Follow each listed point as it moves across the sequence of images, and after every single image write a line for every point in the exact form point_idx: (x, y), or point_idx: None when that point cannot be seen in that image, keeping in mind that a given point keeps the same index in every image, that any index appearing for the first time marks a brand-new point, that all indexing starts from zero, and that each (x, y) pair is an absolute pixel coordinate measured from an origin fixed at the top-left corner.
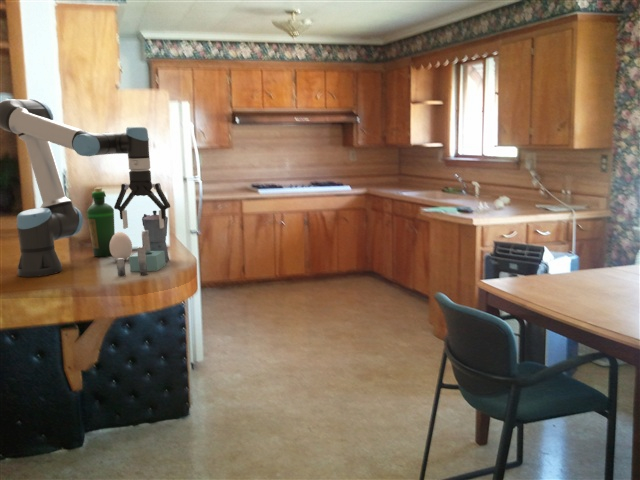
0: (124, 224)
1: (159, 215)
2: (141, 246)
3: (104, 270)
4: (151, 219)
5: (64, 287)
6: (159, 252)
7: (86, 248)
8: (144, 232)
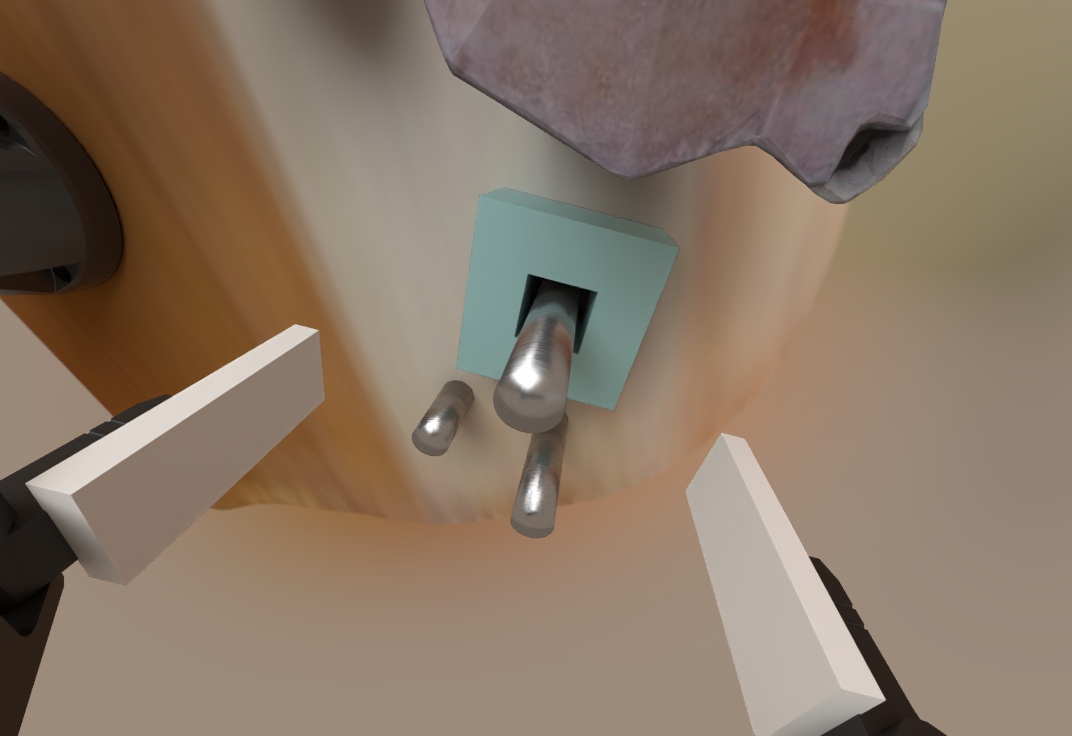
0: (287, 426)
1: (736, 648)
2: (534, 514)
3: (337, 256)
4: (599, 146)
5: (316, 485)
6: (638, 312)
7: None
8: (529, 427)
